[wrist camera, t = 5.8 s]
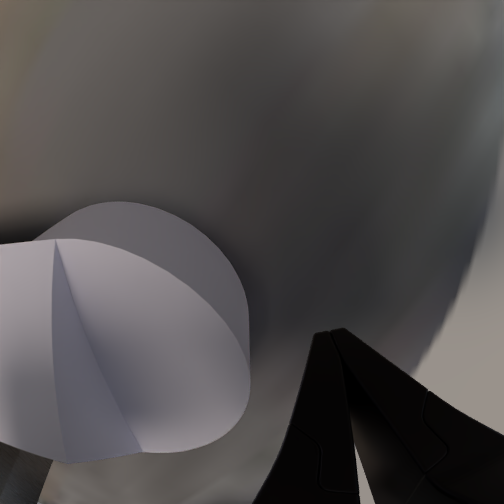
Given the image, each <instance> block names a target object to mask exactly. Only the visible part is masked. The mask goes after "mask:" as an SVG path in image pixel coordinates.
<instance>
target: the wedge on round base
mask: <svg viewBox="0 0 504 504" xmlns="http://www.w3.org/2000/svg"><path fill="white" fill-rule="evenodd" d="M250 387H251V384H250V338H249V311H248V304H247V299H246V295H245V291H244V289H243V286H242V284H241V281H240V279H239V277H238V275H237V273H236V272H235V270H234V268H233V266H232V265H231V263H230V262H229V260H228V259H227V258H226V257H225V255H224V254H223V253H222V252H221V250H220V249H219V248H218V247H217V246H216V245H215V244H214V243H213V242H212V241H211V240H210V239H209V238H208V237H207V236H206V235H204V234H203V233H202V232H200V231H199V230H198V229H196V228H195V227H194V226H192V225H191V224H189V223H188V222H186V221H184V220H182V219H181V218H179V217H177V216H175V215H173V214H171V213H168V212H166V211H163V210H161V209H159V208H156V207H152V206H148V205H144V204H140V203H132V202H123V201H120V202H104V203H99V204H94V205H90V206H87V207H85V208H82V209H80V210H77V211H75V212H74V213H72V214H70V215H69V216H67V217H66V218H64V219H63V220H61V221H60V222H58V223H57V224H55V225H54V226H52V227H51V228H50V229H48V230H47V231H45V232H44V233H42V234H41V235H40V236H38V237H37V238H36V239H34V240H33V241H30V242H20V243H11V244H2V245H0V442H3V443H5V444H8V445H10V446H13V447H16V448H18V449H21V450H24V451H27V452H30V453H33V454H36V455H39V456H42V457H45V458H48V459H52V460H55V461H59V462H62V463H66V464H72V463H80V462H88V461H95V460H102V459H108V458H114V457H120V456H125V455H130V454H136V453H140V452H151V453H172V452H180V451H186V450H191V449H195V448H198V447H201V446H204V445H207V444H209V443H211V442H213V441H215V440H217V439H219V438H221V437H222V436H223V435H225V434H226V433H227V432H229V431H230V430H231V429H232V428H233V427H234V426H235V425H236V424H237V422H238V421H239V420H240V418H241V416H242V415H243V413H244V412H245V409H246V406H247V403H248V401H249V395H250Z"/></svg>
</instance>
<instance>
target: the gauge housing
mask: <svg viewBox="0 0 504 504" xmlns="http://www.w3.org/2000/svg"><path fill="white" fill-rule="evenodd" d="M52 462H53V460H52V459H48V458H45V457H42V456H39V455H36V454H33V453H30V452H27V451H24V450H20V453H19V455H18V457H17V459H16V461H15V464H14V466H13V468H12V470H11V473H10V475H9V477H8V480H7V482H6V484H5V487H4V489H3V492H2V494H1V497H0V504H37V502H38V499H39V496H40V493H41V491H42V488H43V485H44V483H45V480H46V477H47V475H48V472H49V469H50V467H51V464H52Z"/></svg>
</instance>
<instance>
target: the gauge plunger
mask: <svg viewBox="0 0 504 504" xmlns="http://www.w3.org/2000/svg"><path fill="white" fill-rule="evenodd" d="M20 450H21V449H18V448H16V447H13V446H10V445H8V444H5V443H3V442H0V497H1V494H2V492H3V489H4V487H5V484H6V482H7V480H8V477H9V475H10V473H11V470H12V468H13V466H14V464H15V461H16V459H17V457H18V455H19V453H20Z"/></svg>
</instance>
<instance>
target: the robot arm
mask: <svg viewBox="0 0 504 504" xmlns="http://www.w3.org/2000/svg"><path fill="white" fill-rule="evenodd" d="M289 424H290V425H288V428H287V432H286V435H285V438H284V440H283V443H282V446H281V449H280V451H279V454H278V456H277V458H276V460H275V462H274V464H273V466H272V469H271V471H270V472H269V474H268V476H267V478H266V480H265V482H264V483H263V485H262V487H261V489H260V491H259V492H258V494H257V496H256V498H255V499H254V501H253V503H252V504H360V496H359V484H358V475H357V465H356V456H355V448H354V443H355V446H356V449H357V452H358V454H359V457H360V460H361V463H362V466H363V469H364V472H365V475H366V478H367V480H368V484H369V487H370V490H371V493H372V495H373V499H374V502H375V504H504V435H502V434H500V433H499V432H497V431H495V430H493V429H491V428H489V427H487V426H485V425H484V424H482V423H480V422H478V421H476V420H475V419H473V418H471V417H469V416H467V415H466V414H464V413H462V412H460V411H459V410H457V409H455V408H454V407H452V406H451V405H450V404H448V403H447V402H445V401H443V400H442V399H441V398H439V397H438V396H437V395H435V394H434V393H433V392H431V391H428V389H427V388H425V387H424V386H423V385H421V384H420V383H419V382H417V381H416V380H415V379H413V378H412V377H410V376H409V375H408V374H406V373H405V372H404V371H402V370H401V369H400V368H398V367H397V366H396V365H394V364H393V363H391V362H390V361H389V360H387V359H386V358H385V357H383V356H382V355H381V354H379V353H378V352H377V351H375V350H374V349H372V348H371V347H370V346H368V345H367V344H366V343H364V342H363V341H362V340H360V339H359V338H358V337H356V336H355V335H354V334H352V333H351V332H349V331H348V330H347V329H345V328H339V329H334V330H331V331H330V332H329V331H323V332H318V333H315V334H314V336H313V340H312V344H311V347H310V351H309V355H308V359H307V363H306V367H305V370H304V374H303V378H302V381H301V385H300V388H299V392H298V395H297V399H296V402H295V406H294V409H293V413H292V416H291V419H290V422H289Z"/></svg>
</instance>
